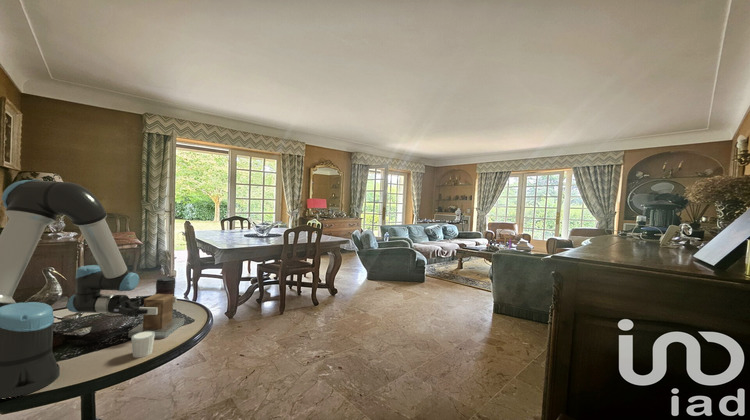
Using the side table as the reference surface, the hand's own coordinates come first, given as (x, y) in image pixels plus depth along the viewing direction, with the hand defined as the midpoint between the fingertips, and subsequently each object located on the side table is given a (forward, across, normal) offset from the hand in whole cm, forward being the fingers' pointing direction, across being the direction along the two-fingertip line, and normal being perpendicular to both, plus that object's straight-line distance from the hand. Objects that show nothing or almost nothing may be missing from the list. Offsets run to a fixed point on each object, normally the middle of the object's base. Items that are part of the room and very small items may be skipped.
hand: (167, 305), depth 126 cm
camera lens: (-15, -26, -11) cm, 32 cm away
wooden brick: (-3, 0, -8) cm, 9 cm away
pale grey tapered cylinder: (+3, +19, -11) cm, 22 cm away
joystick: (-3, 0, -11) cm, 11 cm away
